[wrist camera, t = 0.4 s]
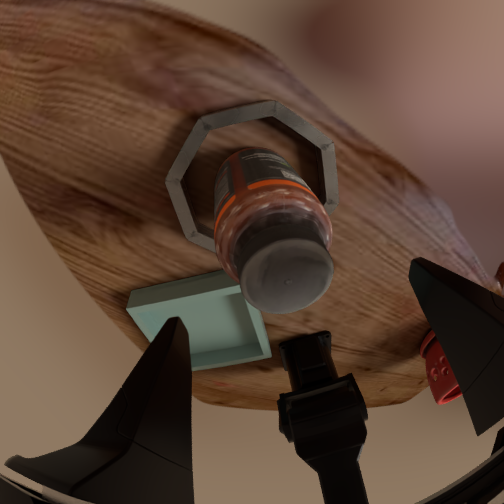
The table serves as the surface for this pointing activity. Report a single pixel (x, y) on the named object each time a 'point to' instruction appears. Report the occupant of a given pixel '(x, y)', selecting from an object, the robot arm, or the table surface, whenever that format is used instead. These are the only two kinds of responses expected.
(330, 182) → the holder ring
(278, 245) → the supplement bottle
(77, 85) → the table surface
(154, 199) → the table surface
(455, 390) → the plant pot
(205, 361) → the tray
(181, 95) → the table surface
